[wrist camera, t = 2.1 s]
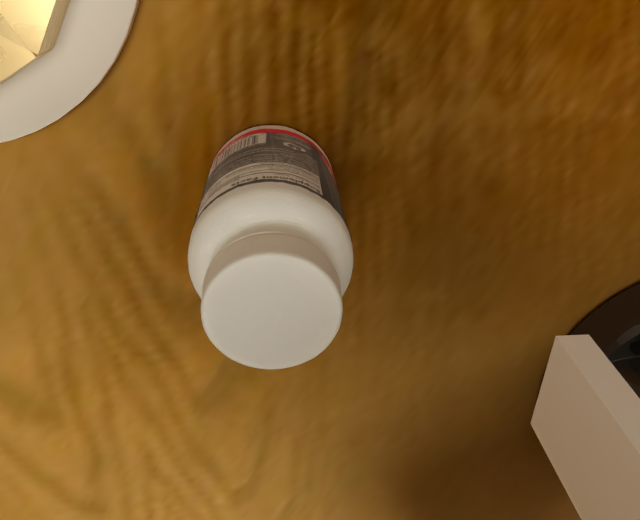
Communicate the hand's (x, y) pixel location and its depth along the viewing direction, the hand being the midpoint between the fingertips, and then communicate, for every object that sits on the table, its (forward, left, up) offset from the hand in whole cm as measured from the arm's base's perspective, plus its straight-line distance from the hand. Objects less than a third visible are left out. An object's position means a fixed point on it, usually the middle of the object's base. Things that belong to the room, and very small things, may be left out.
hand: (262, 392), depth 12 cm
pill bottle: (0, 0, -13) cm, 13 cm away
